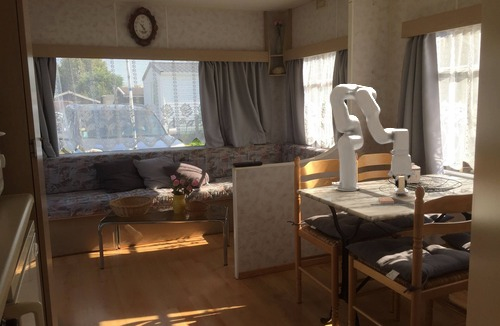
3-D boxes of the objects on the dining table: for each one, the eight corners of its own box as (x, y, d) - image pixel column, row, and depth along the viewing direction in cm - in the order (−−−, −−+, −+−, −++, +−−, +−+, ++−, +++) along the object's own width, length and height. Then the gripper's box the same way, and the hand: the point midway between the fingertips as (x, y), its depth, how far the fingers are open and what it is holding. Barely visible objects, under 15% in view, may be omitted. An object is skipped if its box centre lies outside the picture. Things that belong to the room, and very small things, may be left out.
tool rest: (393, 198, 222) (393, 197, 221) (389, 193, 234) (389, 191, 234) (413, 198, 220) (413, 196, 220) (408, 192, 233) (408, 191, 232)
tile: (378, 200, 217) (381, 204, 210) (378, 197, 217) (380, 201, 209) (391, 199, 217) (393, 203, 209) (391, 197, 216) (393, 200, 208)
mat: (371, 206, 208) (371, 205, 207) (367, 199, 223) (367, 198, 223) (405, 206, 205) (405, 205, 205) (399, 198, 221) (399, 197, 220)
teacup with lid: (407, 180, 265) (407, 161, 263) (422, 181, 259) (423, 162, 257) (400, 183, 256) (400, 164, 254) (415, 185, 250) (415, 165, 248)
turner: (396, 193, 222) (396, 178, 221) (393, 189, 232) (393, 175, 231) (409, 193, 221) (409, 178, 220) (405, 189, 231) (405, 174, 230)
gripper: (385, 154, 221) (386, 189, 224) (419, 153, 219) (419, 188, 221) (383, 152, 229) (383, 186, 231) (415, 151, 226) (415, 185, 229)
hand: (401, 187), depth 226 cm, fingers closed on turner, 3 cm apart
